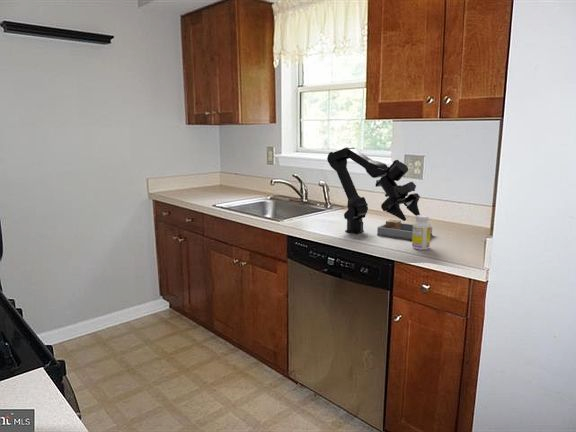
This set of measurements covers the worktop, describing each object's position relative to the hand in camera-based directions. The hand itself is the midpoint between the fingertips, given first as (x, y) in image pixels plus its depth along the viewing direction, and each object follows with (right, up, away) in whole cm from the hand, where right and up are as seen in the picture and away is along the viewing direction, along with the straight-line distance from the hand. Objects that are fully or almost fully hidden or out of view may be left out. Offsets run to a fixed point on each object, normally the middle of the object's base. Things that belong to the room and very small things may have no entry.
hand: (412, 218), depth 171 cm
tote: (+2, -7, +19) cm, 20 cm away
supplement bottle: (+3, -12, -1) cm, 12 cm away
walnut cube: (-2, -6, +22) cm, 23 cm away
